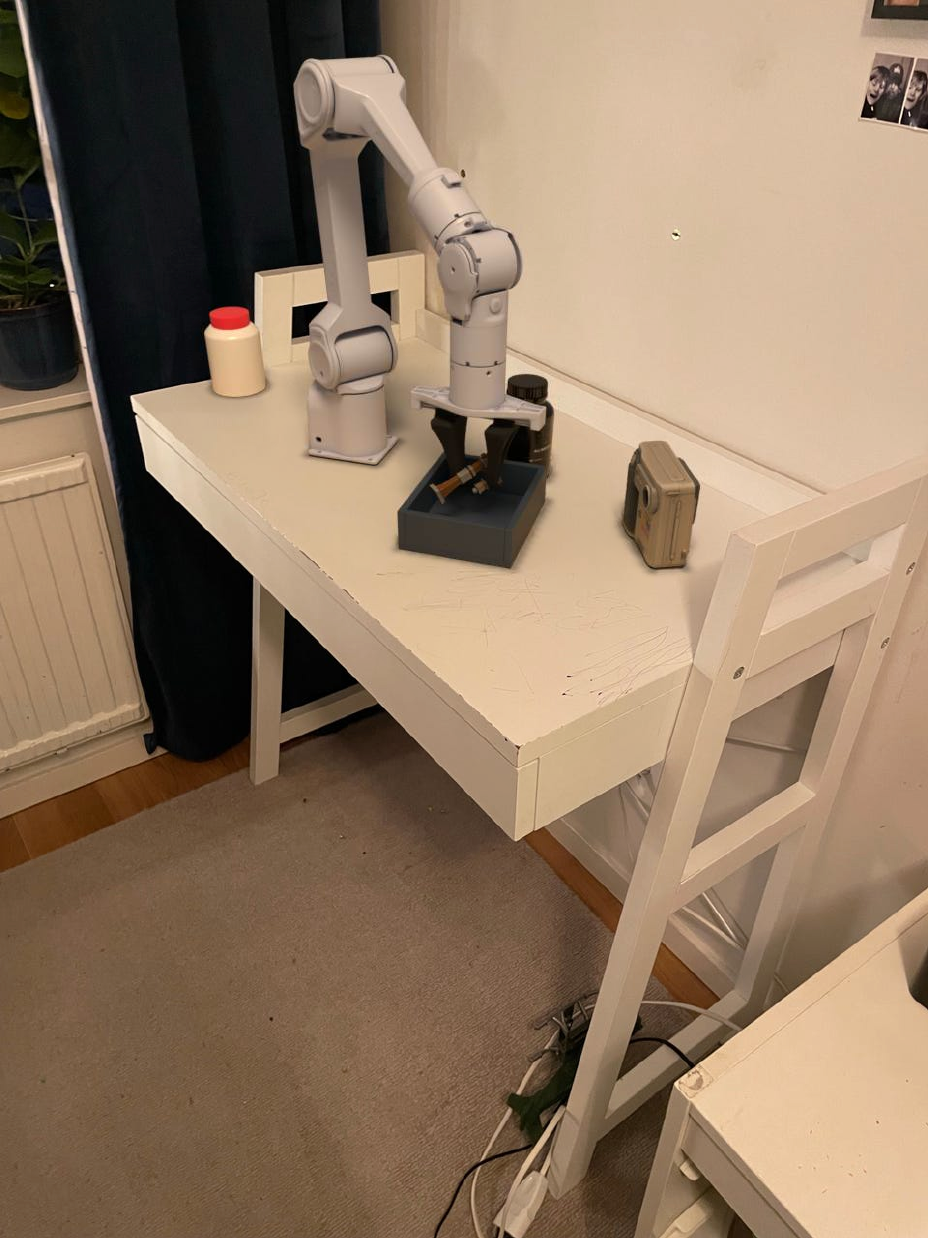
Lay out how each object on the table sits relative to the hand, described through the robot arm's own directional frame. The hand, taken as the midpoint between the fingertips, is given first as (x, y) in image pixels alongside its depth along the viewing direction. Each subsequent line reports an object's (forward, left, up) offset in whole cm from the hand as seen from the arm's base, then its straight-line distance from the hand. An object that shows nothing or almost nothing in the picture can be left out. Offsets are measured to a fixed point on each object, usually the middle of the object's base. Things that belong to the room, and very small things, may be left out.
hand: (475, 478), depth 103 cm
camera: (+20, +2, -6) cm, 21 cm away
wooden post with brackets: (-1, -1, -2) cm, 2 cm away
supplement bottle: (+2, +14, -6) cm, 15 cm away
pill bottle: (-45, +28, -6) cm, 53 cm away
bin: (0, 0, -6) cm, 6 cm away
